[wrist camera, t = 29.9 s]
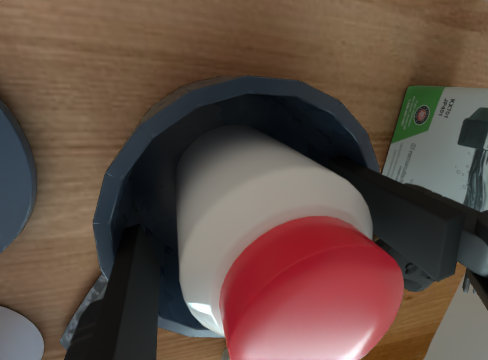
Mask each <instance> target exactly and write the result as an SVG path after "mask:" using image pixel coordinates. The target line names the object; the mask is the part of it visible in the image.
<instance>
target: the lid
mask: <svg viewBox="0 0 488 360" xmlns="http://www.w3.org/2000/svg"><path fill="white" fill-rule="evenodd" d="M36 191H37V176H36V168H35V163H34V158H33V154H32V152H31V149H30V146H29V144H28V141H27V139H26V137H25V135H24V133H23V131H22V129H21V127H20V126H19V124H18V122H17V120H16V119H15V117H14V116H13V115H12V113H11V112H10V110H9V109H8V108H7V106H6V105H5V103H4V102H3V101H2V100H1V99H0V253H1V252H2V251H3V250H4V249H6V248H7V247H8V246H9V245H10V244H11V243H12V242H13V241H14V240H15V239H16V237H17V236H18V235H19V234H20V232H21V231H22V230H23V228H24V227H25V225H26V223H27V221H28V219H29V218H30V216H31V213H32V210H33V207H34V204H35V199H36Z"/></svg>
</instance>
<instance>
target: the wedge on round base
mask: <svg viewBox="0 0 488 360" xmlns="http://www.w3.org/2000/svg"><path fill="white" fill-rule="evenodd" d="M43 353H44V342H43V338H42V336H41V333H40V332H39V330H38V329H37V328H36V326H35V325H34V324H33V323H32V322H30V321H29V320H28V319H27V318H25V317H24V316H22V315H20V314H19V313H17V312H15V311H12V310H10V309H8V308H5V307H1V306H0V360H41V359H42V356H43Z"/></svg>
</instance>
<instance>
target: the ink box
mask: <svg viewBox="0 0 488 360" xmlns="http://www.w3.org/2000/svg"><path fill="white" fill-rule="evenodd" d="M382 175H385V176H387V177H389V178H391V179H393V180H396V181H398V182H400V183H402V184H404V183H409V184H414V185H419V186H422V187H424V188H426V189H429V190H431V191H432V192H436V193H438V194H440V195H442V197H443V196H445V197H447V198H450V199H452V200H454V201H457V202H459V203H461V204H464V205H466V206H468V207H471V208H473V209H475V210H478V211H480V212H483V211H485V210H488V89H486V88H466V87H445V86H409V87H408V88H407V91H406V95H405V98H404V101H403V104H402V108H401V111H400V115H399V118H398V122H397V125H396V129H395V132H394V135H393V138H392V142H391V145H390V148H389V152H388V155H387V158H386V162H385V165H384V168H383V172H382Z"/></svg>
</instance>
